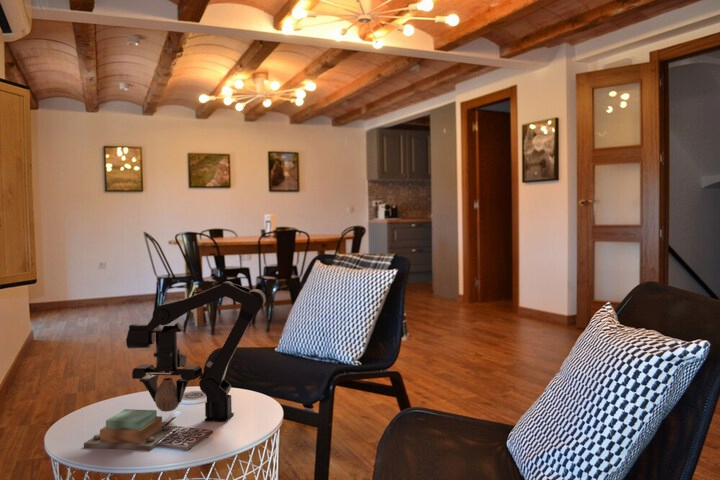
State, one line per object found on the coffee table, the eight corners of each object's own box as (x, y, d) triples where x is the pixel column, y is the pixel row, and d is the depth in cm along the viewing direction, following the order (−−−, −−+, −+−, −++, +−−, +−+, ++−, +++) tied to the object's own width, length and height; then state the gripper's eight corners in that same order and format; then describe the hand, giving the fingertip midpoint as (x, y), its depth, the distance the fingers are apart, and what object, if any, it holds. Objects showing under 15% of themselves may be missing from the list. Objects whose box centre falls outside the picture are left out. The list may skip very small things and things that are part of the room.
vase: (184, 406, 163) (184, 376, 162) (174, 413, 156) (174, 382, 156) (161, 405, 163) (161, 375, 163) (150, 413, 156) (150, 381, 156)
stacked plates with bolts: (177, 429, 152) (176, 407, 152) (151, 449, 138) (150, 425, 138) (115, 427, 154) (114, 405, 154) (83, 447, 140) (83, 423, 140)
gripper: (209, 342, 166) (210, 394, 166) (149, 341, 168) (151, 392, 169) (193, 350, 155) (194, 406, 155) (130, 349, 157) (131, 404, 158)
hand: (167, 402), depth 160 cm, fingers closed on vase, 7 cm apart
